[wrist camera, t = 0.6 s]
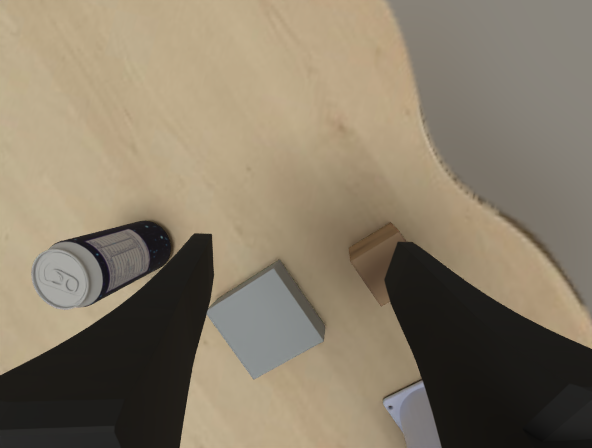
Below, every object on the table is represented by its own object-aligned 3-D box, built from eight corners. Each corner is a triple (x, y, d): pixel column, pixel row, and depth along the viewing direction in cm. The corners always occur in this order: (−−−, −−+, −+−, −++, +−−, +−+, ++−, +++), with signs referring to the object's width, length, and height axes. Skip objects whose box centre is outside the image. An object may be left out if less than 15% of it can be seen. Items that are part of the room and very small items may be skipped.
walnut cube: (416, 262, 32) (431, 278, 27) (374, 286, 33) (381, 306, 28) (390, 222, 31) (399, 231, 26) (348, 248, 32) (350, 261, 27)
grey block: (325, 324, 34) (323, 340, 31) (261, 360, 36) (253, 379, 33) (280, 258, 34) (273, 268, 30) (217, 298, 36) (204, 311, 32)
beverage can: (138, 211, 35) (36, 231, 23) (182, 233, 35) (101, 265, 23) (123, 254, 36) (19, 294, 24) (165, 275, 36) (80, 326, 24)
